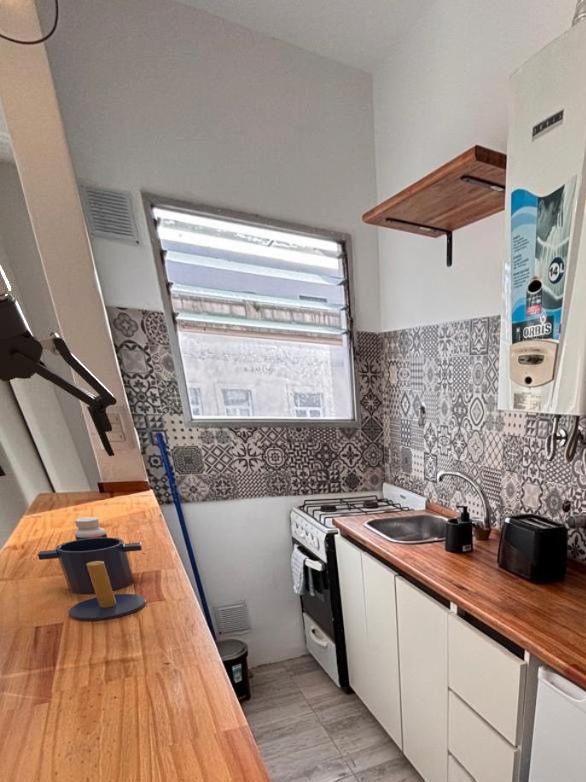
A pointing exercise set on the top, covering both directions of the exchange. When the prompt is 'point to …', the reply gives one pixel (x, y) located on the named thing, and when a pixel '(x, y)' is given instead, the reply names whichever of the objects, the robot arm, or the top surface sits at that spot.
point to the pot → (92, 550)
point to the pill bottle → (88, 528)
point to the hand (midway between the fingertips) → (57, 461)
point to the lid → (105, 599)
